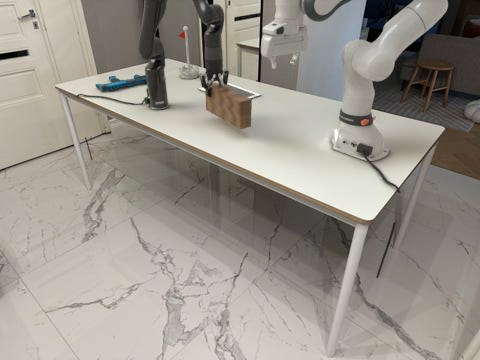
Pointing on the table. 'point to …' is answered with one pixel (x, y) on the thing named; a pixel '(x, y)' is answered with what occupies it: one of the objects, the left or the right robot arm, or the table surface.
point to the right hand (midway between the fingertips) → (283, 66)
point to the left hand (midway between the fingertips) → (215, 95)
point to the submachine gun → (121, 82)
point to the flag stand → (187, 71)
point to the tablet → (238, 90)
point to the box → (229, 106)
